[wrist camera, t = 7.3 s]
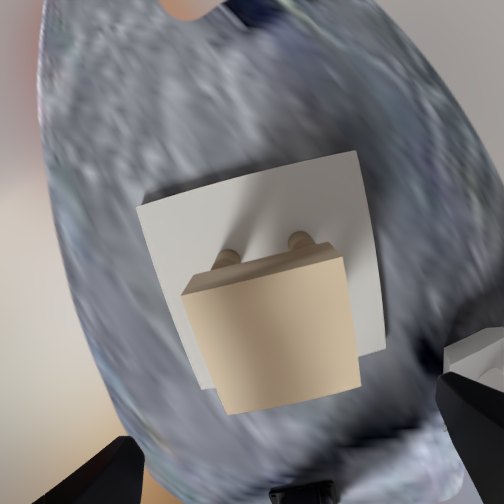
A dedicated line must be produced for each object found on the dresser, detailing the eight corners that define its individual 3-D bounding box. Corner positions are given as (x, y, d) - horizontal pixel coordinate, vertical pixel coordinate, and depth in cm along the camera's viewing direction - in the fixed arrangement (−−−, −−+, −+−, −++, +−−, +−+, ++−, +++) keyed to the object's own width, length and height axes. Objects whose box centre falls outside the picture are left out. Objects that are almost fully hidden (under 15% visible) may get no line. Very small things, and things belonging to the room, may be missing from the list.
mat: (382, 342, 20) (386, 348, 20) (203, 383, 22) (201, 389, 21) (352, 150, 17) (355, 150, 17) (140, 205, 19) (135, 207, 18)
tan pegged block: (311, 224, 18) (342, 256, 11) (331, 318, 19) (360, 386, 12) (208, 249, 18) (180, 295, 12) (237, 340, 20) (227, 415, 13)
